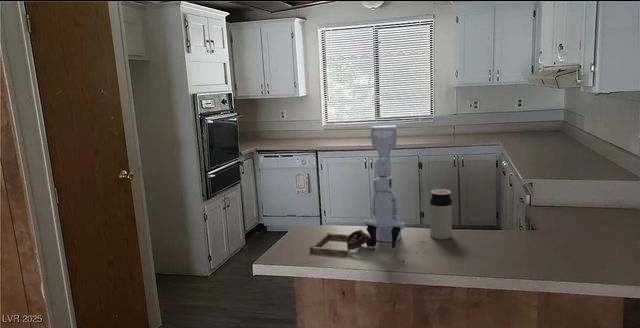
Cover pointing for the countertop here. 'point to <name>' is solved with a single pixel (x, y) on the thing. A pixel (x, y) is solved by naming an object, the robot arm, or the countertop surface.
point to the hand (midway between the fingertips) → (384, 246)
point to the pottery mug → (359, 240)
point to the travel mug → (440, 214)
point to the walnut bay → (329, 251)
